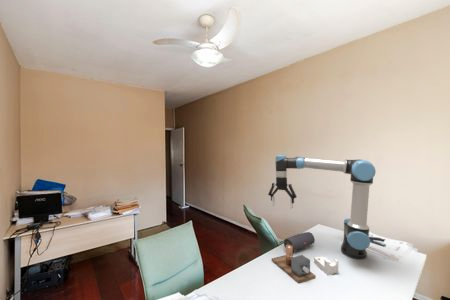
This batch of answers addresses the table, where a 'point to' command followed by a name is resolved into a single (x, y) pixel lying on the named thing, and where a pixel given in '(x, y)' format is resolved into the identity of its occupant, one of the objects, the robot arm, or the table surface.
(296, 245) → the bluetooth speaker
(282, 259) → the walnut board
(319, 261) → the bracket
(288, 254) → the shaft
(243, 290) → the table surface
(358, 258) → the robot arm
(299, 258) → the bearing block
